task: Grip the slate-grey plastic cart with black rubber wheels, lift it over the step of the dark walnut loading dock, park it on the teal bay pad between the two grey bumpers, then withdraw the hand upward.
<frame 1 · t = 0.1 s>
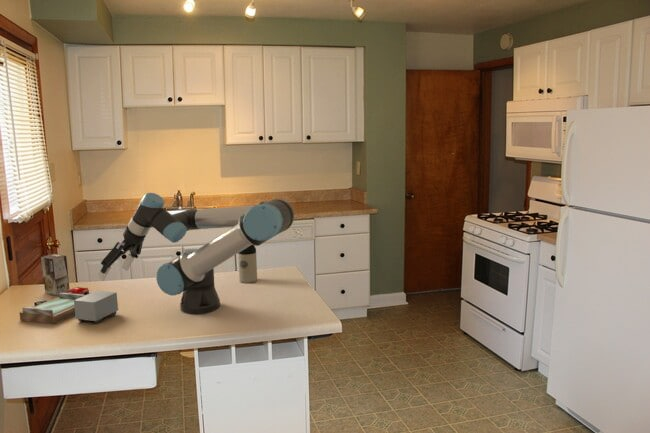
hand: (112, 273, 209), 15 cm above the kitchen island, tool tilted 35°, fingers open, 13 cm apart
loading dock: (57, 313, 212), on the kitchen island
travel mug: (248, 281, 250), on the kitchen island
coffee box: (57, 292, 239), on the kitchen island
grey cart: (97, 318, 206), on the kitchen island
race car: (75, 298, 231), on the kitchen island
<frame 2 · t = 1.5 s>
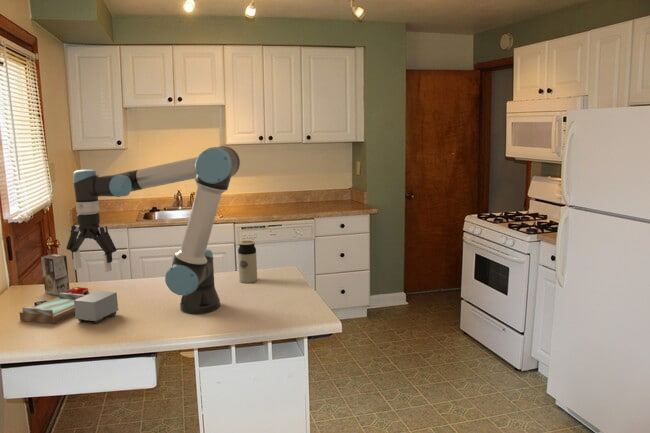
hand: (93, 270, 202), 19 cm above the kitchen island, tool pointing down, fingers open, 13 cm apart
nothing on the kitchen island moved.
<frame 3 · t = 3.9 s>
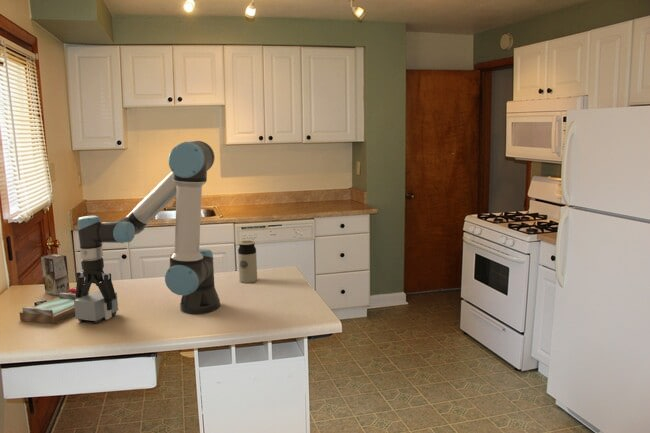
hand: (97, 317, 205), 0 cm above the kitchen island, tool pointing down, fingers closed on grey cart, 9 cm apart
grey cart: (97, 318, 206), on the kitchen island, touching gripper
everything else where it was.
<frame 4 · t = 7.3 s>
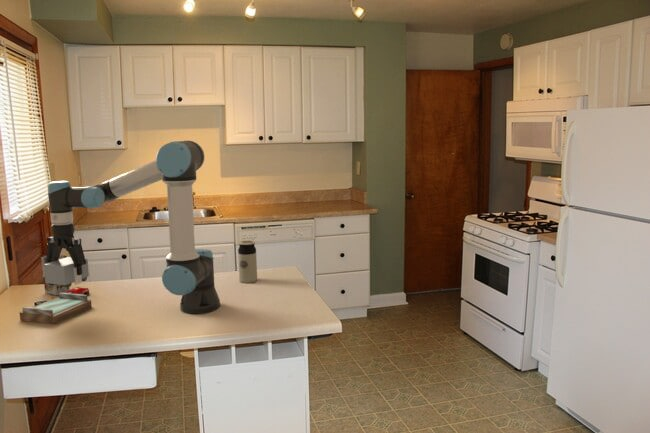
hand: (67, 282, 207), 13 cm above the kitchen island, tool pointing down, fingers closed on grey cart, 9 cm apart
grey cart: (68, 283, 207), point 13 cm above the kitchen island, touching gripper
everything else where it was.
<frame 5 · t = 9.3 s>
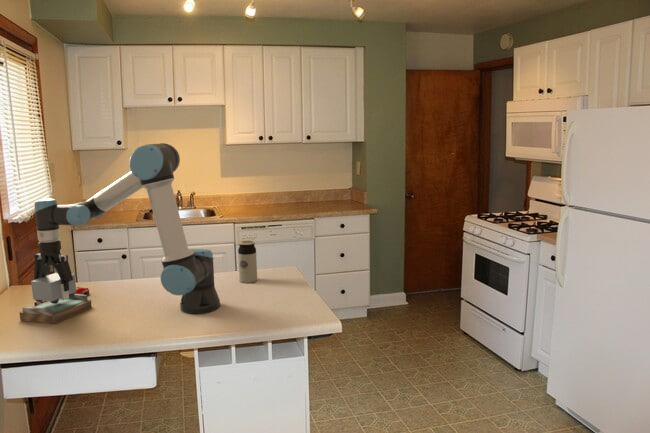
hand: (55, 298, 210), 6 cm above the kitchen island, tool pointing down, fingers closed on grey cart, 9 cm apart
grey cart: (55, 299, 211), point 6 cm above the kitchen island, touching gripper
everything else where it was.
when the fingers open (4 cm above the kitchen island, at t = 11.0 s): grey cart stays where it is, resting on loading dock.
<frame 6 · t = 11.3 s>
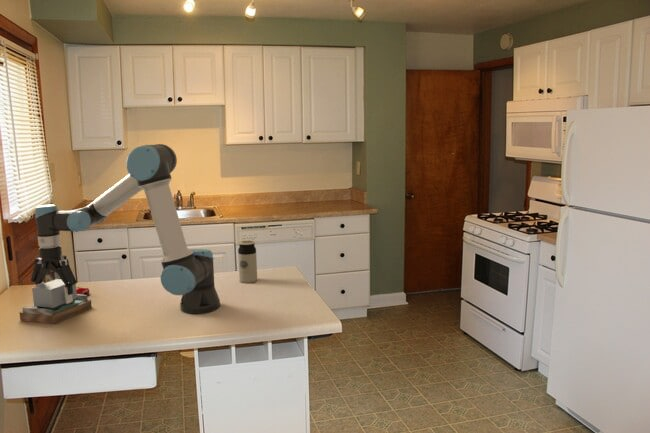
hand: (55, 301, 211), 5 cm above the kitchen island, tool pointing down, fingers open, 12 cm apart
grey cart: (56, 305, 211), point 3 cm above the kitchen island, touching loading dock
everything else where it was.
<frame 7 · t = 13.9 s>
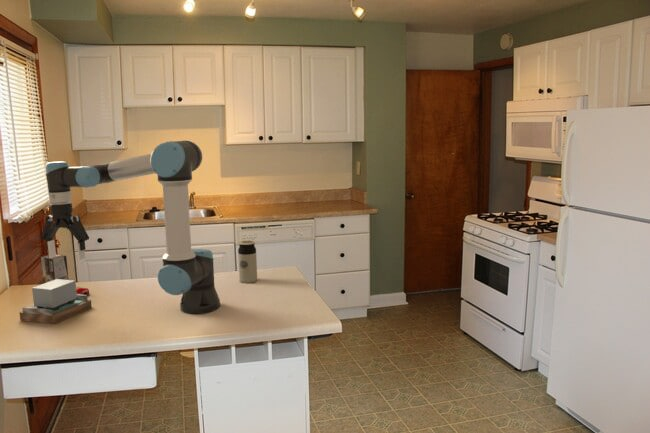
hand: (67, 258, 211), 21 cm above the kitchen island, tool pointing down, fingers open, 13 cm apart
nothing on the kitchen island moved.
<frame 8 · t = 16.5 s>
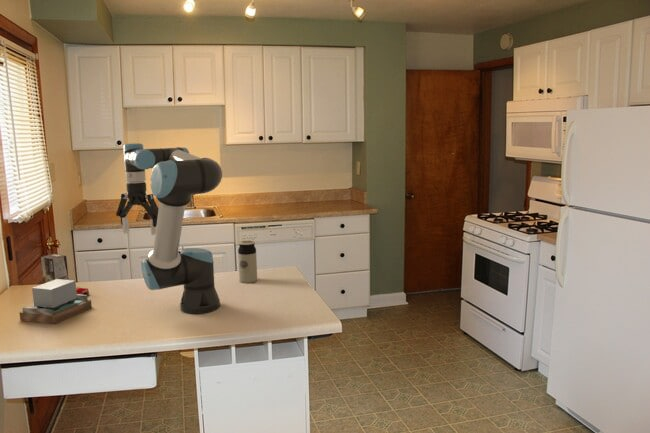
hand: (140, 233, 226), 27 cm above the kitchen island, tool pointing down, fingers open, 13 cm apart
nothing on the kitchen island moved.
at the end: grey cart inside the target area on the loading dock (0.1 cm from its centre), point 3.2 cm above the loading dock's base; grey cart tilted 0°; the gripper is holding nothing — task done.
